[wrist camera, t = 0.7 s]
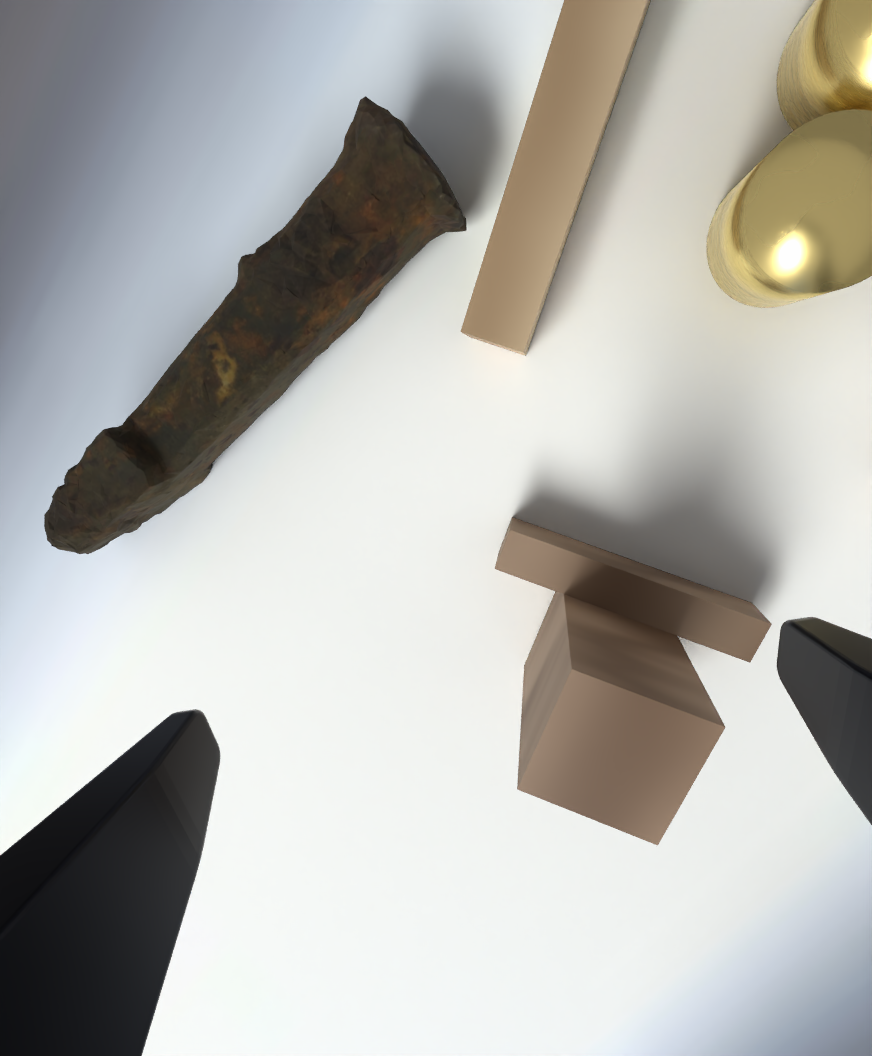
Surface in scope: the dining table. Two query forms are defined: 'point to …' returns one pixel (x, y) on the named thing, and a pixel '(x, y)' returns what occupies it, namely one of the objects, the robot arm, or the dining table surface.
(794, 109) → the puck
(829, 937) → the dining table surface
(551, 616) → the brown t-shaped block
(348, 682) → the dining table surface
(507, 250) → the wooden blocks
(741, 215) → the puck
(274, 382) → the hand tool
